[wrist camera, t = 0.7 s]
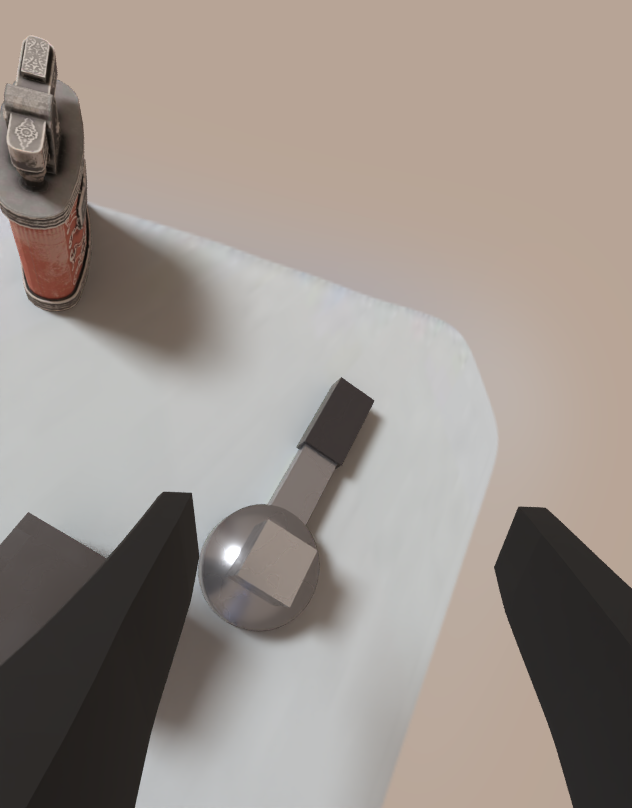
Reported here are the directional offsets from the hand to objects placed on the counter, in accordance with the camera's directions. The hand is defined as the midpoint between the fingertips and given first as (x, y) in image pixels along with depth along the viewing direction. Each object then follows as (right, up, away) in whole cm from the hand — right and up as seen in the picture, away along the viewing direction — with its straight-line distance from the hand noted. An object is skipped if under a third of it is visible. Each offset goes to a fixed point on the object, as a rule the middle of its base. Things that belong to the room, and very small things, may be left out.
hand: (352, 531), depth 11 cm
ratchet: (-2, -2, +17) cm, 17 cm away
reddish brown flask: (-16, +12, +16) cm, 26 cm away
